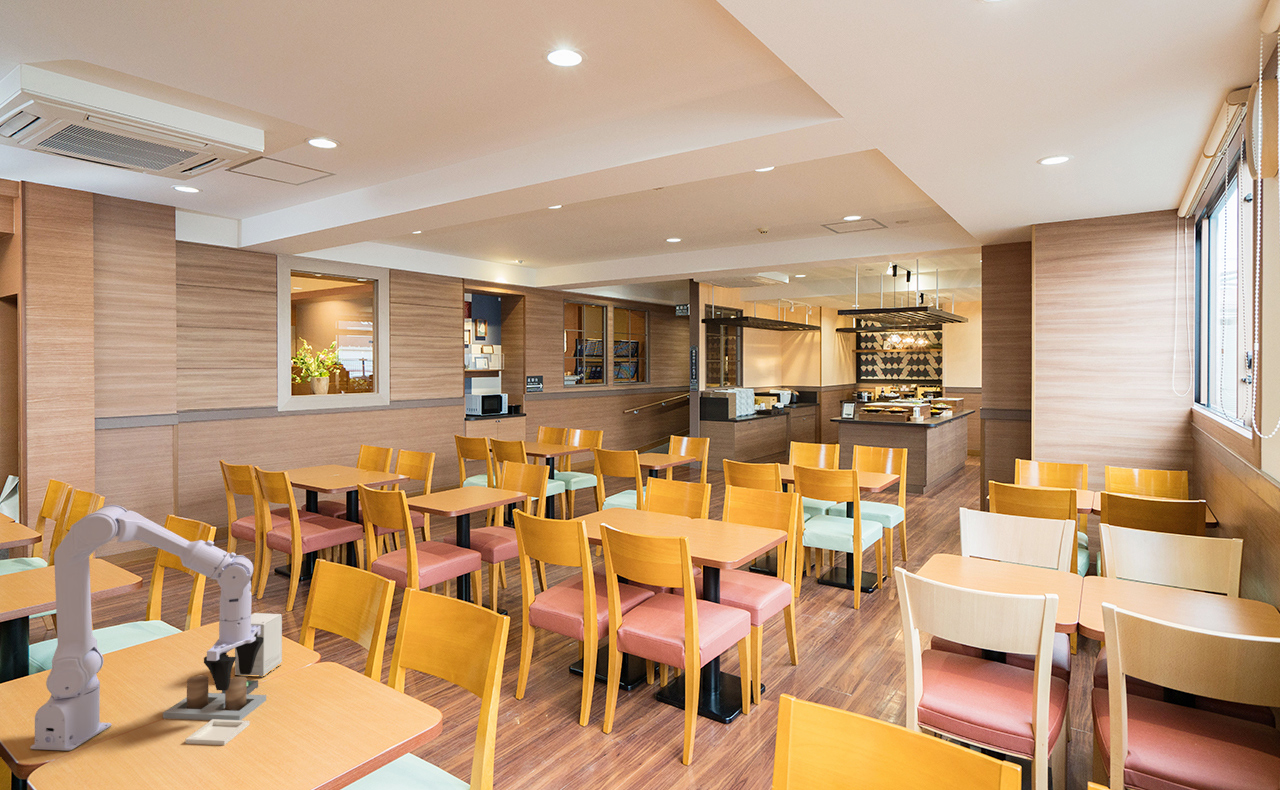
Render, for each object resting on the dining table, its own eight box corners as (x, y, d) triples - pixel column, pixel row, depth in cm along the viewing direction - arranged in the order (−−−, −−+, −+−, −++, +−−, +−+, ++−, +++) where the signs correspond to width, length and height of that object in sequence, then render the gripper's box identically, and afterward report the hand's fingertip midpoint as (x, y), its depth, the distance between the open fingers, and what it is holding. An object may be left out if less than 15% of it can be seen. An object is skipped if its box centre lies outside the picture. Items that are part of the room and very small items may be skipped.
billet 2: (238, 716, 139) (238, 685, 139) (220, 715, 139) (220, 684, 139) (250, 707, 143) (250, 677, 142) (233, 706, 143) (233, 676, 143)
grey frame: (239, 723, 136) (239, 715, 136) (162, 719, 137) (163, 712, 137) (266, 702, 145) (266, 695, 145) (194, 699, 146) (194, 692, 146)
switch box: (244, 698, 146) (244, 690, 146) (221, 697, 147) (221, 689, 147) (258, 688, 151) (258, 680, 151) (236, 687, 152) (236, 679, 152)
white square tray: (224, 747, 127) (224, 740, 127) (185, 745, 128) (185, 739, 128) (249, 726, 135) (249, 720, 135) (212, 725, 135) (212, 719, 135)
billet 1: (200, 714, 139) (200, 683, 139) (182, 714, 139) (182, 683, 139) (212, 706, 143) (212, 675, 143) (195, 705, 143) (195, 675, 143)
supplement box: (283, 665, 164) (283, 613, 164) (263, 678, 157) (263, 624, 156) (254, 663, 165) (254, 611, 164) (233, 676, 157) (233, 622, 157)
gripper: (231, 630, 133) (230, 698, 133) (274, 606, 148) (273, 667, 148) (196, 628, 133) (195, 696, 134) (243, 604, 148) (242, 666, 148)
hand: (234, 681), depth 141 cm, fingers open, 7 cm apart
